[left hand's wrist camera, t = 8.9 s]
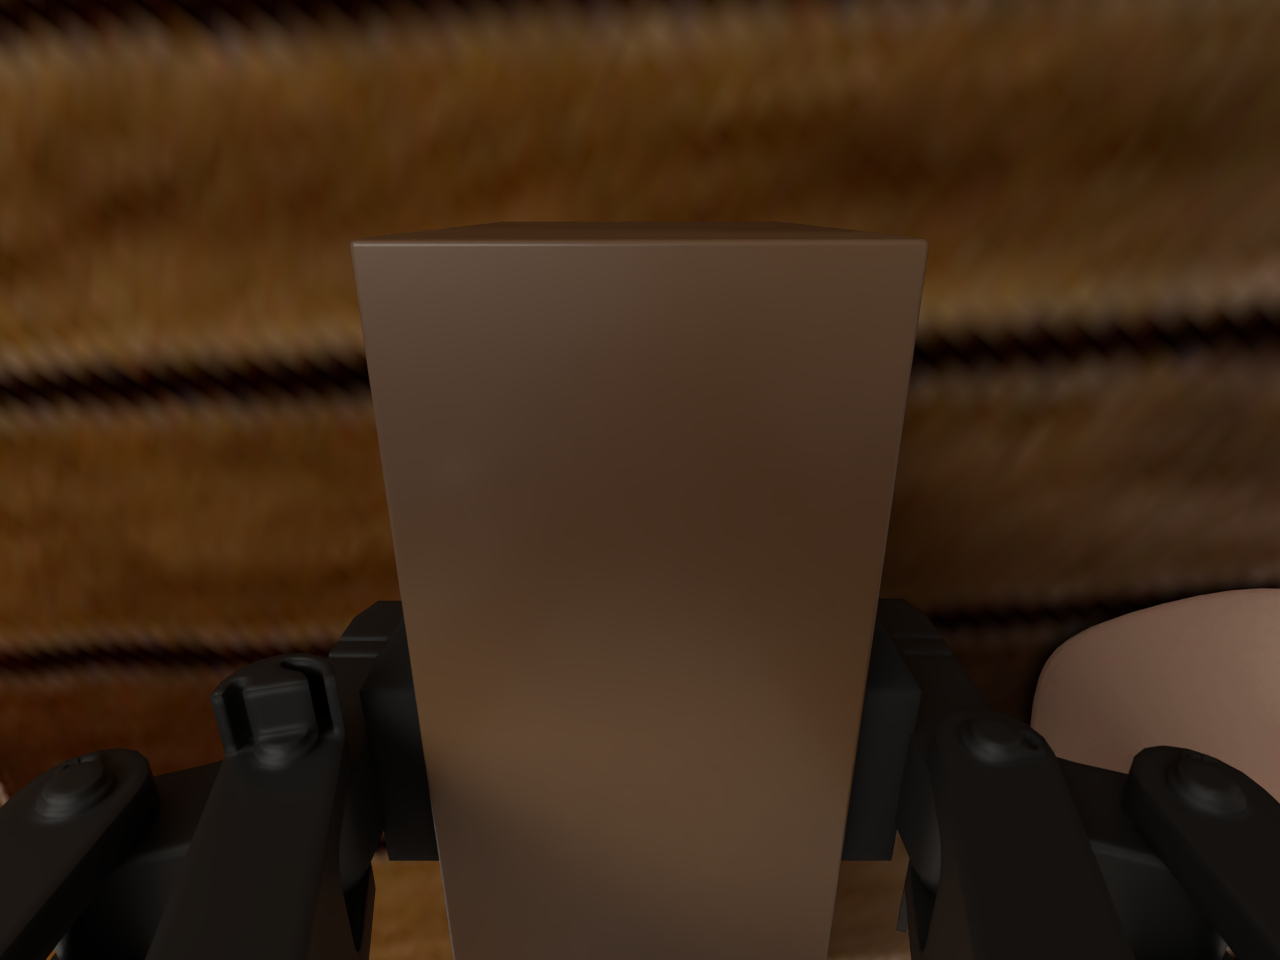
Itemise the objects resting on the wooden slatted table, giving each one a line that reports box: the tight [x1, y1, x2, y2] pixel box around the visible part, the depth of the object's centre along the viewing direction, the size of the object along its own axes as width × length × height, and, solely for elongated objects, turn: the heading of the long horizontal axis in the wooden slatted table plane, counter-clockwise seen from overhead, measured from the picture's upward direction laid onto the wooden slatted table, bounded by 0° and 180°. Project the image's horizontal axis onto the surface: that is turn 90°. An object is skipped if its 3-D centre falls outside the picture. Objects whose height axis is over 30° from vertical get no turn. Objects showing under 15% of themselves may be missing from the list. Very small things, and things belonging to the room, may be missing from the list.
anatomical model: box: [1030, 588, 1280, 803], centre depth 21 cm, size 13×4×12 cm
